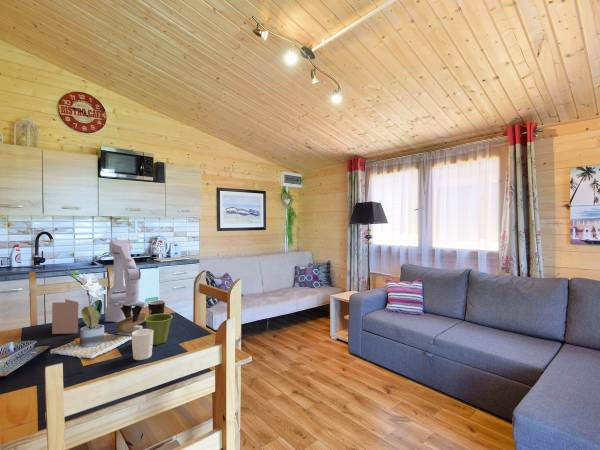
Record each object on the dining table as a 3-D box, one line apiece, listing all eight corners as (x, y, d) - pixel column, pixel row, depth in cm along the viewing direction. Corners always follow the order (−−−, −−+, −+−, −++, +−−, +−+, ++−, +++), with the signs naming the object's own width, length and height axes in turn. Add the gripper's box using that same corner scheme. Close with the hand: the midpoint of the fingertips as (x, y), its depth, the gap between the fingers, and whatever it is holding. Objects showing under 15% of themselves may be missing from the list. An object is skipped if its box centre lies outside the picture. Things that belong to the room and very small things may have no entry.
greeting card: (79, 332, 155) (80, 301, 155) (62, 337, 148) (63, 305, 148) (66, 328, 160) (67, 298, 160) (49, 333, 154) (50, 302, 153)
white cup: (147, 351, 135) (147, 327, 135) (156, 356, 130) (157, 331, 130) (128, 357, 129) (128, 332, 129) (136, 362, 124) (137, 337, 124)
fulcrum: (115, 334, 153) (115, 327, 153) (129, 328, 162) (129, 322, 162) (134, 336, 151) (134, 329, 151) (146, 330, 160) (146, 323, 160)
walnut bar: (116, 330, 149) (116, 322, 149) (139, 320, 165) (139, 312, 165) (123, 331, 148) (123, 323, 148) (145, 321, 164) (145, 313, 164)
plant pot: (145, 349, 137) (146, 323, 137) (142, 340, 147) (142, 315, 147) (174, 343, 143) (175, 318, 143) (169, 335, 153) (169, 312, 153)
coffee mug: (147, 318, 178) (148, 301, 177) (164, 317, 181) (164, 299, 181) (147, 325, 167) (147, 306, 167) (165, 323, 171) (165, 304, 171)
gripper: (112, 294, 154) (112, 322, 154) (139, 295, 151) (139, 324, 151) (123, 291, 161) (123, 317, 161) (149, 292, 158) (149, 320, 158)
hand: (131, 320), depth 157 cm, fingers closed on walnut bar, 3 cm apart
